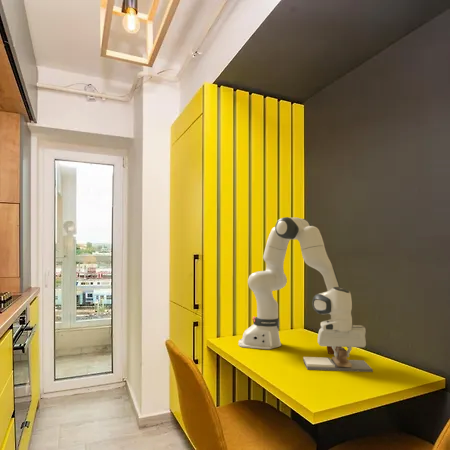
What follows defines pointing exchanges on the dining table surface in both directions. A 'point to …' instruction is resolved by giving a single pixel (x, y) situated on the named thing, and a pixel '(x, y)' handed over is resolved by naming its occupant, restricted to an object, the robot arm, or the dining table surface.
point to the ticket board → (329, 364)
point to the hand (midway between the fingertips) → (341, 356)
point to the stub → (341, 358)
